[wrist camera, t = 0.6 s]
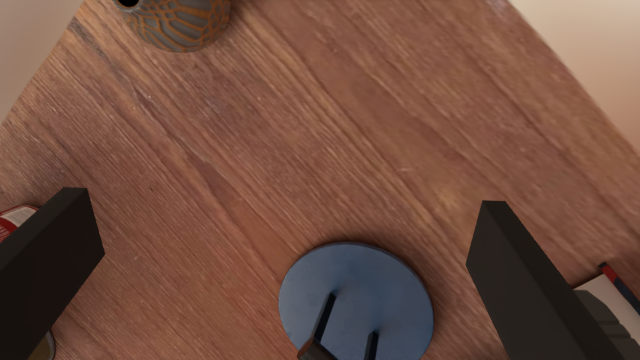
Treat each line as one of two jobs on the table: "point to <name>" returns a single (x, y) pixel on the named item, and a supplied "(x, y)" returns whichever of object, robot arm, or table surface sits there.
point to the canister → (44, 349)
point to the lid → (355, 305)
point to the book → (616, 299)
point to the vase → (176, 22)
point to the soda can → (14, 219)
